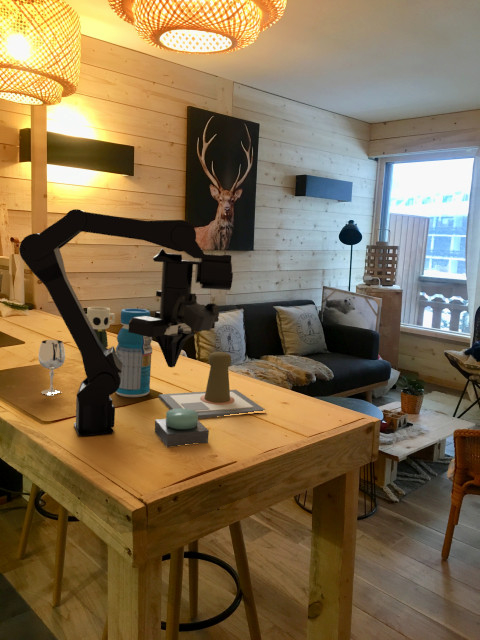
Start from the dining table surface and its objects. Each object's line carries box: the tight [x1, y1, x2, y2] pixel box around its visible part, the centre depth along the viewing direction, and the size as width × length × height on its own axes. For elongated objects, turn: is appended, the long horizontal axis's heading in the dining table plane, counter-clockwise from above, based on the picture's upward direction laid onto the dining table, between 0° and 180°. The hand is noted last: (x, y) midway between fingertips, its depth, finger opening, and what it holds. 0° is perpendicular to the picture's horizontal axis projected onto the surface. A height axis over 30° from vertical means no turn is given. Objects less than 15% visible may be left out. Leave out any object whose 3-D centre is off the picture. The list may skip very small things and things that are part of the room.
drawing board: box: [158, 389, 266, 420], centre depth 124 cm, size 20×16×1 cm
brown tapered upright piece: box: [204, 351, 232, 403], centre depth 125 cm, size 6×6×11 cm
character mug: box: [85, 306, 116, 349], centre depth 173 cm, size 11×7×13 cm, turn 124°
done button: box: [165, 408, 199, 429], centre depth 103 cm, size 6×6×2 cm
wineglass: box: [38, 339, 66, 396], centre depth 124 cm, size 6×6×12 cm
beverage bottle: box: [115, 308, 153, 398], centre depth 128 cm, size 8×8×20 cm
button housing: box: [154, 418, 210, 448], centre depth 103 cm, size 8×8×2 cm
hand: (171, 366), depth 105 cm, fingers closed
